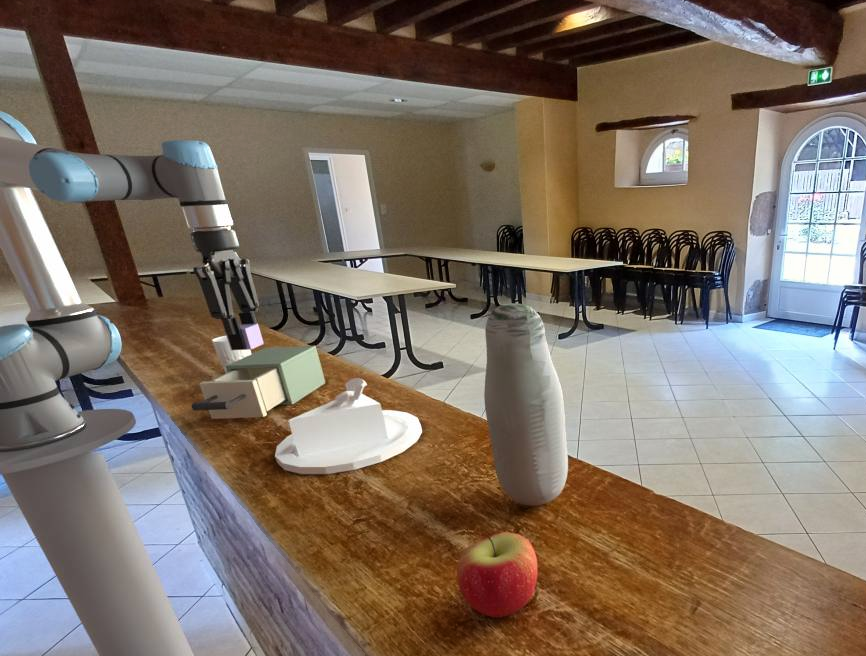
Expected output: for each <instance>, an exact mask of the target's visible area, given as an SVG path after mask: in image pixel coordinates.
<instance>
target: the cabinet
mask: <svg viewBox="0 0 866 656" xmlns="http://www.w3.org/2000/svg"><path fill="white" fill-rule="evenodd" d="M269 367H278V368H279V372H280V375H281V379H282V382H283V385H284V389H285V392H286V396H287V399H286V400H284V401H283V402H281V403H279V404H278V405H277V406H288V405H289V406H292V405H295V404H296V403H297V402H299V401H301V400H302V399H303V398H305V397H306V396H308V395H309V394H312V393H313V392H314V391H316V390H317V389H319V388H320V387H322V386H324V385H325V384H326V379H325V376H324V375H325V374H324V372H323V368H322V364H321V361H320V357H319V353H318V350H317V346H316V345H301V346H300V345H299V346H297V345H296V346H295V345H294V346H275V347H264V348H262V349H260V350H258V351H256V352H254V353H251V355H249V356H246V357H244V358H242V359H240V360H237V361H235V362H233V363H231V364H229V365H226V369H227V372H230V371H232V370H235V369H244V368H269Z"/></svg>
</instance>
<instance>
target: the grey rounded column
mask: <svg viewBox="0 0 866 656" xmlns="http://www.w3.org/2000/svg"><path fill="white" fill-rule="evenodd" d="M545 329H546V328H545V324H544V321H543V320H542V317H541V315H539V313H538V312H537V311H536V310H535V309H534V308H533V307H531V306H529V305H526V304H522V303H504V304H500V305H499V306H497V307H496V308H494V309H493V310H492V311H491V312H490V313H489V315H488V317H487V320H486V324H485V344H486V365H485V375H484V377H485V379H484V390H483V392H484V393H483V397H484V398H483V399H484V409H485V417H486V422H487V429H488V433H489V438H490V444H491V451H492V458H493V465H494V470H495V474H496V479H497V481H498V484H499V485H500V486H501V489H502V491H503V492H504V493H505V495H506V496H507V497H508V498H510V499H511V500H513V501H514V502H516V503H518V504H520V505H522V506H523V505H524V506H528V507H529V506H530V507H536V506H537V507H539V506H542V505H546V504H548V503H550V502H552V501H553V500H555V499H556V498H557V497H558V496H560V494H561V493H562V491H563V490H564V488H565V485H566V482H567V479H568V473H569V457H568V445H567V432H566V431H567V430H566V416H565V402H564V396H563V389H562V386H561V383H560V379H559V376H558V374H557V370H556V368H555V366H554V363H553V360H552V356H551V353H550V350H549V346H548V342H547V339H546V330H545Z"/></svg>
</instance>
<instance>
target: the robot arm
mask: <svg viewBox="0 0 866 656" xmlns="http://www.w3.org/2000/svg"><path fill="white" fill-rule="evenodd" d="M161 150H162V154H158V155H123V154H121V155H120V154H96V153H95V154H94V153H83V152H75V151H69V150H64V149H60V148H56V147H52V146H46V145H42V144H38V143H37V142H36V140H35V138H34V136H33V134H32V133H31V132H30V131H29V129H27V127H26V126H25V125H24V124H23V123H22V122H20V121H19V120H18V119H16V118H14V117H13V116H12V115H10V114H8V113H6V112H5V111H3V110H0V250H1V252H2V254H3V256H4V258H5V260H6V262H7V264H8V266H9V268H10V270H11V273H12V274H13V277H14V279H15V281H16V283H17V285H18V287H19V289H20V291H21V293H22V295H23V297H24V299H25V301H26V303H27V305H28V307H29V312H28V314H27V315H26V317H25V322H26V324H25V323H15V324H7V325H1V326H0V452H11V451H19V450H25V449H31V448H35V447H40V446H43V445H47V444H51V443H54V442H57V441H60V440H63V439H66V438H69V437H71V436H73V435H75V434H77V433H79V432H81V431H83V430H84V429H85V428H86V427H87V425H86V422H85V420H84V419H83V417H82V416H81V415H80V414H78V411H77V410H76V406H74V404H72V403H69V402H68V400H66V399H65V397H63V396H62V394H61V391H60V390H59V388H58V386H57V383H56V382H57V381H59V380H64V379H67V378H70V377H73V376H76V375H79V374H82V373H86V372H89V371H96V370H99V369H101V368H103V367H104V366H107V365H110V364H112V363H114V362H116V360H118V359H119V355H120V354H121V353H122V347H123V345H122V343H123V342H122V338H121V334H120V332H119V330H118V328H117V327H116V325H115V324H114V323H112V322H111V320H110V319H109V318H107V317H105V316H103V315H101V314H97V312H96V310H95V308H94V307H93V306H91V305H89V304H86V303H84V302H83V301H82V299H81V297H80V295H79V292H78V291H77V288H76V286H75V284H74V281H73V279H72V277H71V275H70V272H69V271H68V268H67V265H66V264H65V262H64V259H63V257H62V255H61V253H60V250H59V247H58V246H57V244H56V242H55V239H54V237H53V234H52V232H51V230H50V228H49V226H48V224H47V222H46V219H45V217H44V214H43V213H42V210H41V208H40V206H39V204H38V201H37V199H36V197H35V194H34V193H33V190H36V191H39V192H40V193H42V194H44V195H45V196H46V197H47V198H48V199H50V200H52V201H55V202H61V203H62V202H64V203H65V202H67V203H75V204H76V203H78V204H81V203H82V204H83V203H87V202H104V201H105V202H106V201H108V202H109V201H136V200H137V201H154V200H165V199H174V198H175V199H178V201H179V202H178V203H179V205H180V207H181V210H182V213H183V217H184V219H185V224H186V227H187V228H188V229H189V230H192V231H191V232H190V233H189V237H190V240H191V243H192V246H193V249H194V251H195V252H196V253H200V254H201V263H202V264H200V266H194V267H193V268H192V271H193V273H194V275H195V276H196V278H197V280H198V282H199V285H200V287H201V290H202V293H203V296H204V299H205V302H206V305H207V308H208V312H209V314H210V316H211V318H213V319H215V320H221V322H222V326H223V329H224V332H226V333H225V335H226V334H227V335H228V339H229V342H230V345H231V348H232V350H245V349H247V347H246V344H245V341H244V337H243V334H242V331H241V327H240V325H242V324H258V322H257V319H256V316H255V315H256V314H255V313H254V312H258V311H259V306H260V303H259V302H260V301H259V299H258V293H257V292H256V287H255V284H254V280H253V276H252V273H251V266H250V265H251V263H250V260H249V259H248V258H241V257H239V254H238V253H237V252H236V250H237V249H239V248H240V242H239V239H238V236H237V233H236V230H234V229H233V228H231V227H233V226H234V221H233V219H232V215H231V212H230V208H229V206H228V202H227V199H226V196H225V192H224V189H223V185H222V182H221V178H220V174H219V170H218V164H217V163H216V161H215V158H214V155H213V153H212V150H211V147H210V146H209V144H207V143H206V142H205V141H202V140H192V139H172V140H165V141H163V142H162V143H161ZM231 293H232V295H233V297H234V299H235V301H236V304H237V306H238V308H239V310H240V312H238V313H237V314H238V317H239V318H238V317H237V316H236V317H235V314H234V308H233V302H232V296H231ZM240 323H241V324H240Z"/></svg>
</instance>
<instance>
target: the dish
mask: <svg viewBox="0 0 866 656" xmlns="http://www.w3.org/2000/svg"><path fill="white" fill-rule="evenodd" d="M367 385H368V384H367V382H366V381H365V380H364V379H363V378H361V377H354V378H352V379H350V380H348V381H347V382H345V383H344V386H345V390H346V391H342V392H341V393H338V395H336V396H335V397H334V398H335V399H334V400H332V401H330V402H327V403H325V404H323V405H319V406H317V407H316V408H313V409H311V410H308V411H306V412H304V413H302V414H299V415H297V416H294V417H292V418H290V419H288V420H287V421H288V424H289V428H290V431H291V434H290V435H287V436H286V437H285V438H284V439H282V441H281V442H280V443H279V444H277V445H276V449H275V452H274V458H275V461H276V463H277V464H278V465H279V466H280V467H281V468H282V469H283V470H284V471H287V472H291V473H295V474H299V475H331V474H335V473H342V472H350V471H355V470H358V469H362V468H365V467H369V466H372V465H375V464H378V463H382V462H384V461H387V460H389V459H390V458H393V457H396V456H397V455H399V454H402V453H403V452H405V451H406V450H408V449H409V448H410V447H412V446H413V445H415V444H416V443H417V442H418V440H419V439H420V437H421V435H422V433H423V429H422V425H421V422H420V420H419V418H418V417H417V416H416V415H413V414H412V413H409V412H407V411H400V410H392V409H385V410H384V409H383V408H382V405H381V403H380V402H378V401H377V400H374V399H373V398H370V397H369V396H366V395H365V394H363V390H364V388H365V387H366V386H367Z"/></svg>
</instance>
